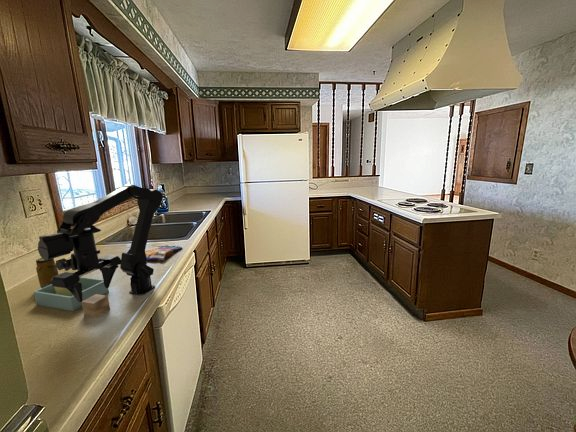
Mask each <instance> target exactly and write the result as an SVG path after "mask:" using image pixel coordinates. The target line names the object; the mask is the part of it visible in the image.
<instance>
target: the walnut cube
mask: <svg viewBox="0 0 576 432" xmlns="http://www.w3.org/2000/svg"><path fill="white" fill-rule="evenodd" d="M81 308H82V311H83V316H85V317H91V318H98V317H99V316H101V315H103V314H105V313H106V312H108V311H109V310H111V306H110V301H109V296H108V295H107V294H105V295H99V294H95V295H93V296H91V297H89V298H87V299H86V300H84V301H82V307H81Z"/></svg>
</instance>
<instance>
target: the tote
mask: <svg viewBox="0 0 576 432" xmlns="http://www.w3.org/2000/svg"><path fill="white" fill-rule="evenodd" d="M79 278H80V280H79V282H78V283H81V284H82V301H84V300H86V299H87V298H89V297H91V296H93V295H95V294H99V295H107V294H108V293H110V292H109V288H105V285H104V281H103V278H102V279H101V278H93V277H87V276H81V277H79ZM40 288H41V287H40ZM40 288H38V289H39V290H38V289H36V290H37V291H36V290H34V291H33V296H34V300H35V304H36V305H37V306H41V307H47V308H52V309H58V310H63V311H64V310H65V311H69V312H75V311H77V310H79V309H80V308H83V307H82V302H78V301H77V299H76V298H75V297H74V296H73V295H72V296H64V295H58V294H56V292H55V288H54V286H52V284H51V285H49V286H46V287H44V288H41V289H40Z"/></svg>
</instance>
